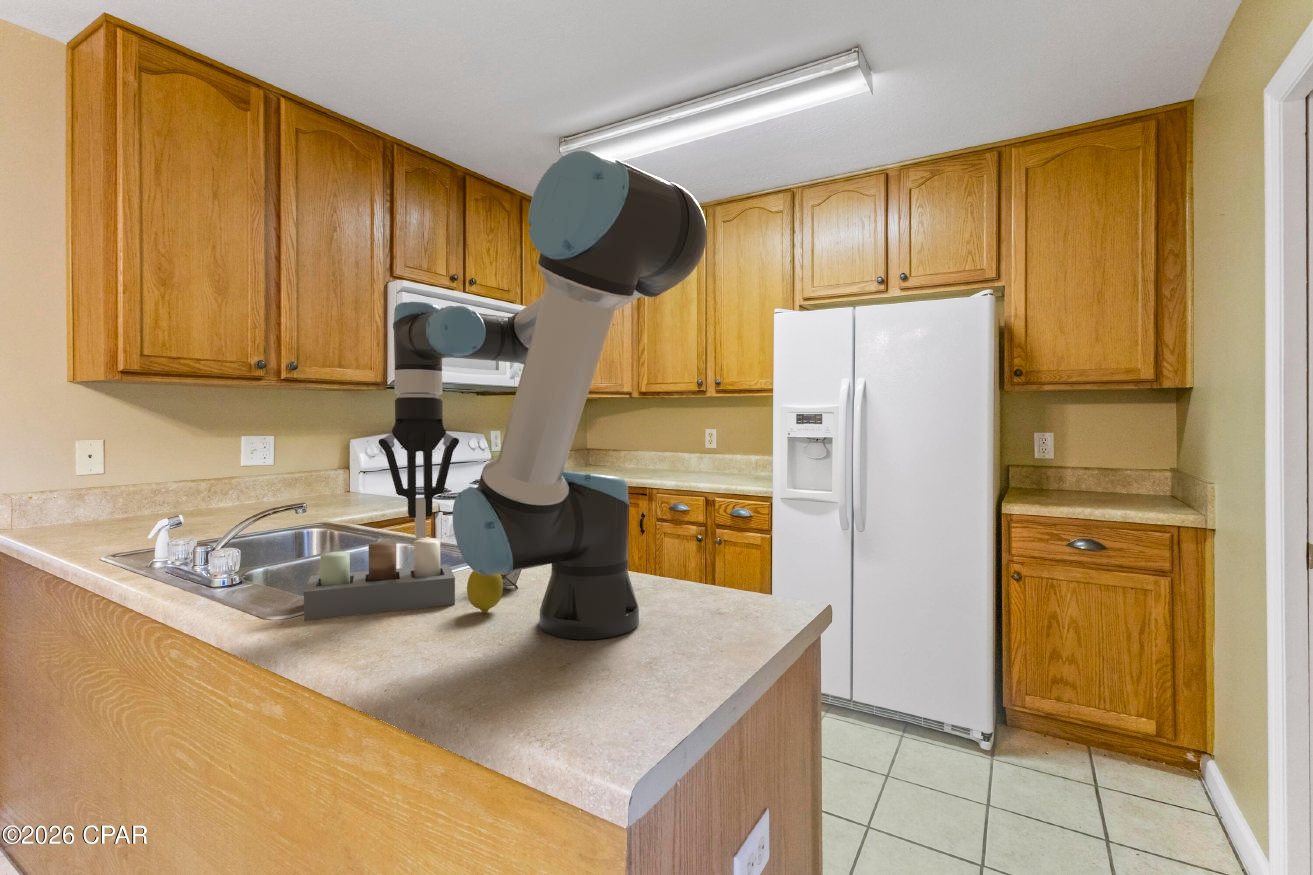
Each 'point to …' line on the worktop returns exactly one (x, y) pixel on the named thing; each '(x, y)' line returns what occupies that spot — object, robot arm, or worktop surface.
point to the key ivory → (426, 558)
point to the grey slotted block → (378, 594)
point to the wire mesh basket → (510, 578)
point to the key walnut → (382, 561)
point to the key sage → (335, 568)
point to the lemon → (484, 590)
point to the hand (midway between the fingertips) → (420, 536)
